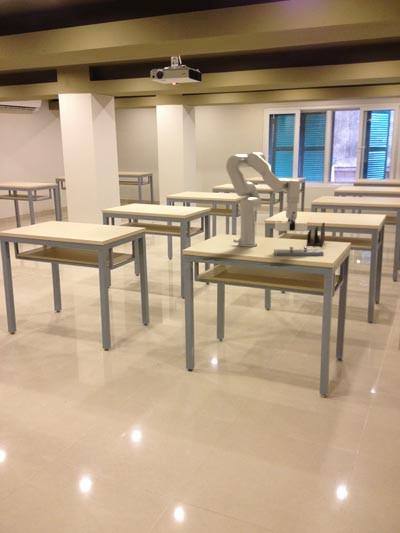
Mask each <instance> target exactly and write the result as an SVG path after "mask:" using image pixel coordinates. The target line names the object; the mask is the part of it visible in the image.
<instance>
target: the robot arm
mask: <svg viewBox="0 0 400 533" xmlns="http://www.w3.org/2000/svg"><path fill="white" fill-rule="evenodd" d="M225 168H226V172H227V174H228V177H229V178H230V181H231V183H232V186H233V189H234V191H235V194H236V196H238V197H243V199H241V201H240V202H239V212H240V237H239V238H238V239H235V238H234V239H233V243H237V245H238V246H239V247H244V248H251V247H257V246H258V243H257V242H255V240H256V214H255V212H256V211H259V210H260V209H261V207H262V200H261V197H260V194H259V191H258V190H257V187H256V186H255V184H254V183H253V182H252V181H246V179H245V177H244V174H243V173H242V171H241V170H240V169H242V168H253V170H255V172H257V173H258V174H259V175H260V176H261V179H262V180H263V182H264V183H265V184H266V185H267V186H268V187H269V188H270V189H271V190H272V191H275V192H278V193H279V192H286V203H287V204H286V210H285V211H286V212H285V217H286V218H287V221H288V222H290V230H295V222H296V219H297V218H298V204H299V203H300V190H301V189H300V188H301V181H300V180H299V179H288V178H278V177H277V176H276V175H275V174H274V173H273V172H272V164H270V163H269V162H268V161H266V156H265V154H264V153H262V152H259V151H258V152H257V151H255V152H251V153H247V154H246V153H243V154H233V155H231V156H229V158H228V159H227V161H226V164H225ZM244 197H245V198H244Z"/></svg>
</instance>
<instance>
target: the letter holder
mask: <svg viewBox="0 0 400 533" xmlns="http://www.w3.org/2000/svg"><path fill="white" fill-rule="evenodd" d="M325 227H326V226H325V222H323V223H321V227H320V228H321V231H320V233H321V234H320V235H321V236H320V237H319V227H318V226H316V227H315V229H314V233H313V234H314V235H313V236H314V238H313V239H312V238H311V237H312V229H309V230H308V231H307V236H306V238H307V239H306V247H323V245H324V242H325ZM320 238H321V239H320Z"/></svg>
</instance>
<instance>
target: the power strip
mask: <svg viewBox="0 0 400 533" xmlns="http://www.w3.org/2000/svg"><path fill="white" fill-rule="evenodd" d="M308 224H309V223H308V222H306V221H295V230H290V222H288V220H287V221H285V220H284V221H282V220H276V221H275V223H274V230H275V231H276V232H308Z"/></svg>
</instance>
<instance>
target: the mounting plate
mask: <svg viewBox="0 0 400 533" xmlns="http://www.w3.org/2000/svg"><path fill="white" fill-rule="evenodd" d="M273 253H274V255H275V256H276V257H296V256H298V257H299V256H300V257H301V256H302V257H303V256H305V257H309V256H314V257H315V256H316V257H317V256H324V253H325V252H324V251H322V250H321V249H319V248H308V246H303V248H298V249H297V248H295V249H294V246H289V249H288V248H284V249H283V248H282V249H273Z"/></svg>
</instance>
